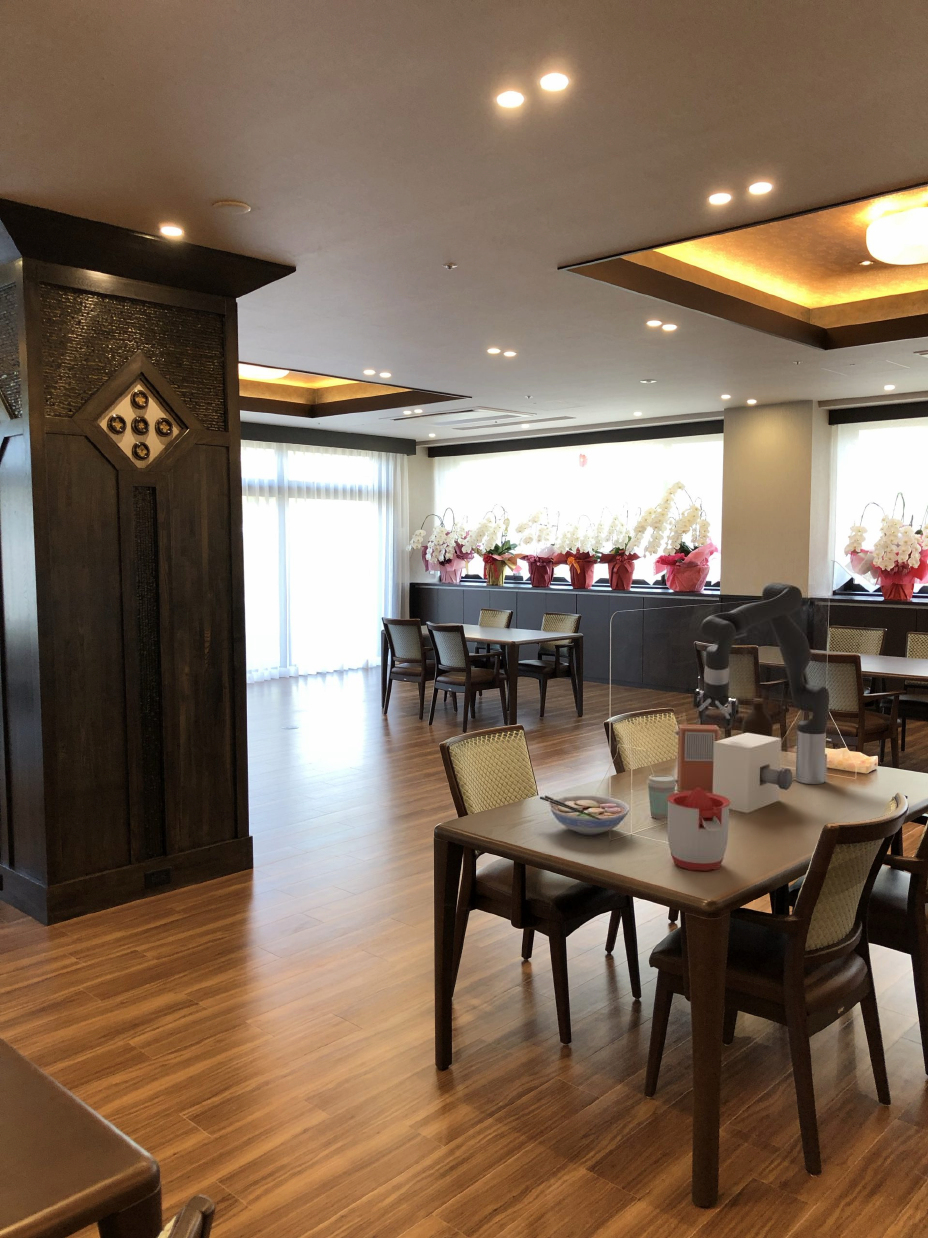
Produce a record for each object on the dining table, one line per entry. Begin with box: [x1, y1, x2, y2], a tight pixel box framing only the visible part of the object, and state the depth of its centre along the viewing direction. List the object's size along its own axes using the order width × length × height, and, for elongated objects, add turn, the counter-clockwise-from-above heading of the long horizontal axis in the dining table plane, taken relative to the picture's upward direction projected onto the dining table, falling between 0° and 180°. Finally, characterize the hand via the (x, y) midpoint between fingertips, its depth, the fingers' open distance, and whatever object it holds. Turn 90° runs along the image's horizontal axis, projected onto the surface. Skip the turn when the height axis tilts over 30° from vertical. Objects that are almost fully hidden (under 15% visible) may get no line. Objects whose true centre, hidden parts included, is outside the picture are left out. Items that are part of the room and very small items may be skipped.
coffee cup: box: [646, 774, 677, 820], centre depth 280 cm, size 9×9×12 cm
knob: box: [760, 767, 793, 791], centre depth 289 cm, size 6×9×6 cm
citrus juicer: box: [667, 788, 730, 871], centre depth 239 cm, size 16×17×20 cm
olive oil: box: [741, 698, 774, 737], centre depth 342 cm, size 11×11×25 cm
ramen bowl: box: [539, 794, 631, 836], centre depth 267 cm, size 25×23×8 cm
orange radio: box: [674, 723, 722, 793], centre depth 310 cm, size 21×7×15 cm
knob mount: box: [713, 733, 782, 814], centre depth 296 cm, size 20×12×20 cm, turn 134°
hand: (715, 723), depth 299 cm, fingers open, 8 cm apart
